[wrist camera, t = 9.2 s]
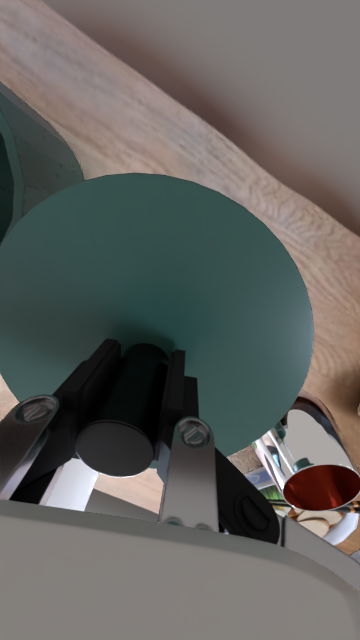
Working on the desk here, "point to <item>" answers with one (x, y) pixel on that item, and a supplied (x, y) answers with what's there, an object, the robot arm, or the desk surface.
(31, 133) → the pot
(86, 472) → the can
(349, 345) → the desk surface
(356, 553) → the architectural model
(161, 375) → the lid
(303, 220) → the desk surface
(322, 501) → the wineglass
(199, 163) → the desk surface
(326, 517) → the ramen bowl
